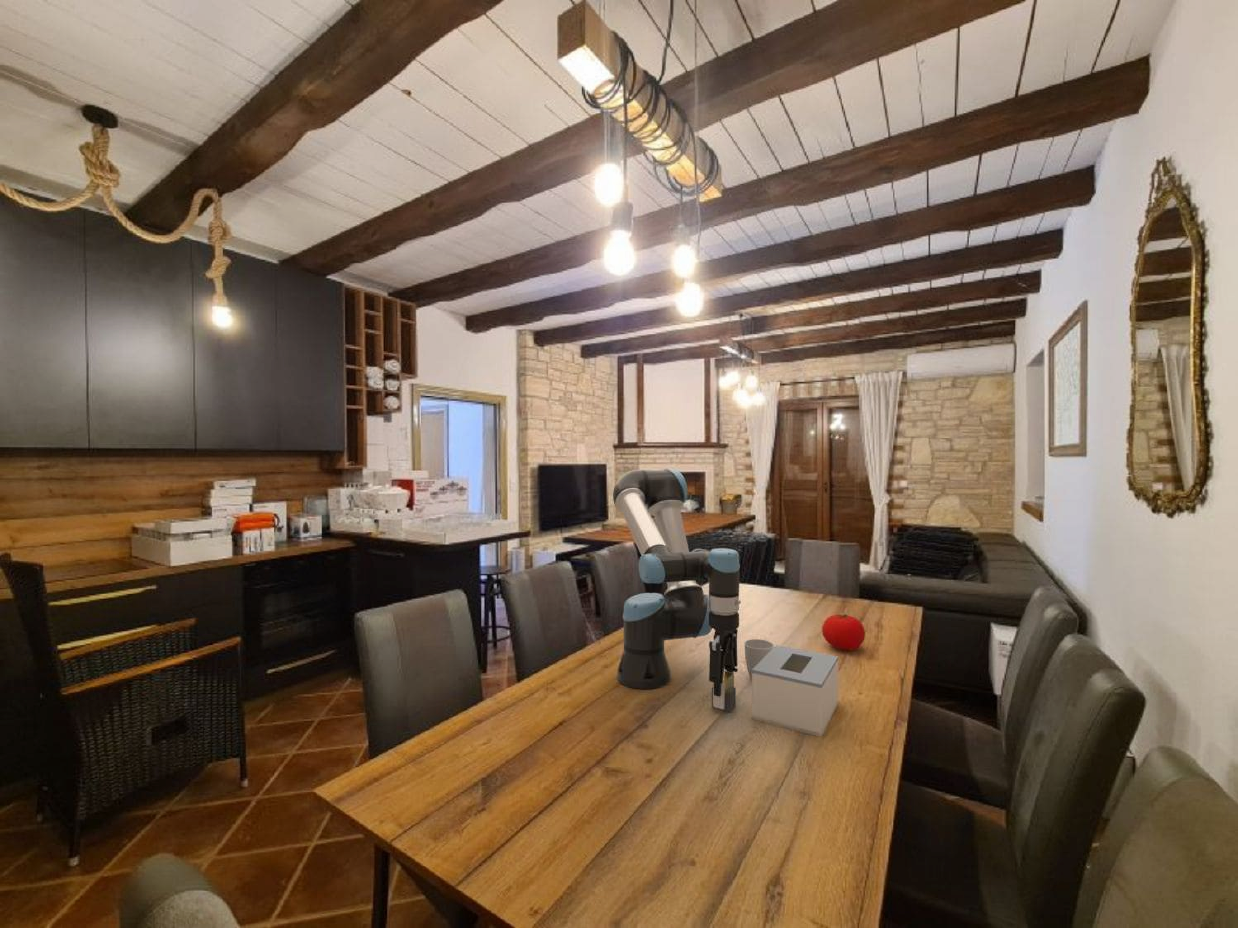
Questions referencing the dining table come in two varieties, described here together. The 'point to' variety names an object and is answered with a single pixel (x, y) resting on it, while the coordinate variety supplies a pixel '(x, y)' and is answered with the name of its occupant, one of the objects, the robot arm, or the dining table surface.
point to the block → (728, 700)
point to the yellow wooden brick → (728, 680)
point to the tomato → (843, 632)
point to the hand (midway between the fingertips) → (723, 701)
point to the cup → (756, 652)
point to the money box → (795, 689)
